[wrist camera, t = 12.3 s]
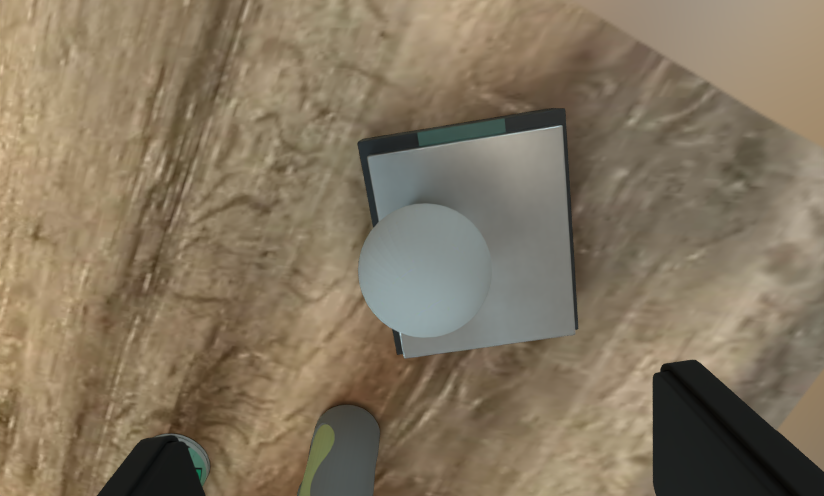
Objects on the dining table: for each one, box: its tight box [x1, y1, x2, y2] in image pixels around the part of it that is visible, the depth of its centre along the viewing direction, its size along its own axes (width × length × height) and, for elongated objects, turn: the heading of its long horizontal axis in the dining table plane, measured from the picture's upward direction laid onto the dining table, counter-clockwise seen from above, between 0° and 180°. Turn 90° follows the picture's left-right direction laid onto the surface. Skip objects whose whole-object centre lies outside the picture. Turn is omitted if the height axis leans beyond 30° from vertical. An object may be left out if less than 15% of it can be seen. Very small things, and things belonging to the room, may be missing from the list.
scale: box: [358, 108, 578, 359], centre depth 30 cm, size 14×12×4 cm
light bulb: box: [358, 203, 492, 338], centre depth 23 cm, size 6×6×10 cm
